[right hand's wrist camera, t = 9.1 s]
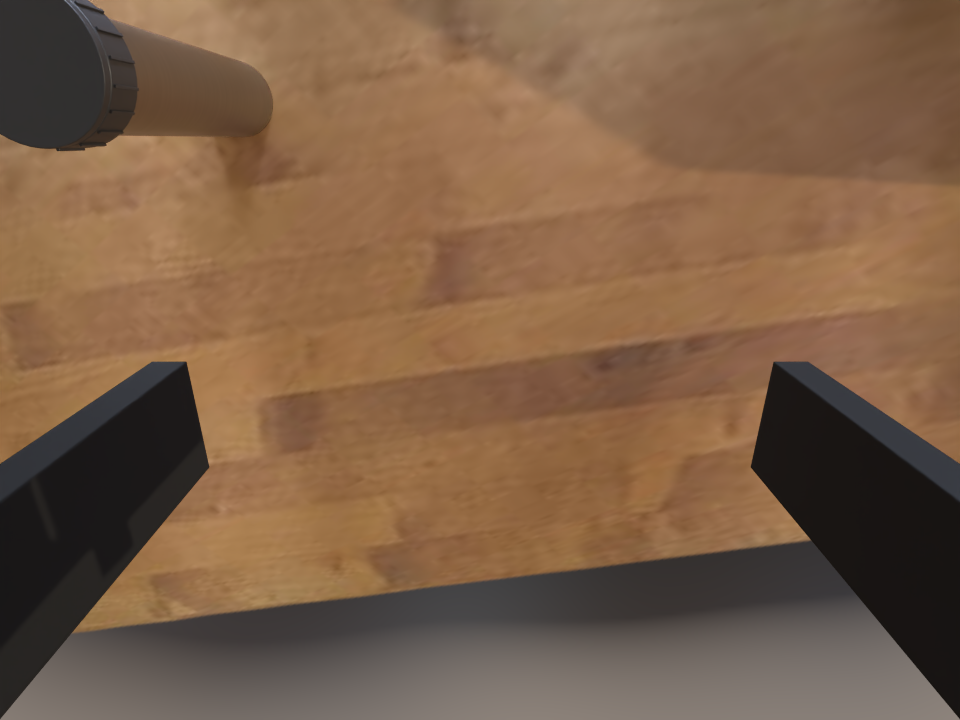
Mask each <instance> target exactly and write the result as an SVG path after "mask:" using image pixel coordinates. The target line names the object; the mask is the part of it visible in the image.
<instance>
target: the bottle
mask: <svg viewBox="0 0 960 720" xmlns="http://www.w3.org/2000/svg"><path fill="white" fill-rule="evenodd" d="M108 19H109V18H108ZM109 20H110V21H111V22H112V23H113V25H114V26H115V27H116V29H117V30H118V31H119V33H122V35H123V37H122V38H123V39H124V41H125V43H126V45H127V47H128V49H129V51H130V54H131V56H132V59H133V60H134V61H135V64H134V66H135V70H136V75H137V85H138V88H139V91H138V92H137V102H136V107H135V110H134V112H135V115H133V116H132V118H131V120H130V122H129V124H128V125H127V126H126V128H125V129H124V130H123V132H124V133H123V134H119V135H121V136H201V137H249V136H253V135H255V134H257V133H259V132H260V131H262V130H263V129H264V128H265V127H266V125H267V124H268V122H269V120H270V118H271V114H272V109H273V101H272V95H271V91H270V88H269V86H268V84H267V82H266V81H265V79H264V78H263V76H262V75H261V74H260V73H259V72H258V71H257V70H256V69H255V68H253V67H252V66H250V65H248V64H246V63H244V62H241V61H238V60H235V59H232V58H229V57H226V56H223V55H220V54H216V53H213V52H210V51H207V50H204V49H201V48H198V47H195V46H192V45H189V44H186V43H183V42H180V41H177V40H174V39H171V38H167V37H164V36H161V35H158V34H155V33H152V32H149V31H146V30H143V29H140V28H137V27H134V26H131V25H128V24H125V23H122V22H118V21H115V20H112V19H109Z"/></svg>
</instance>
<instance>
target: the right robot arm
mask: <svg viewBox="0 0 960 720" xmlns="http://www.w3.org/2000/svg"><path fill="white" fill-rule="evenodd" d="M208 468H209V464H208V459H207V455H206V450H205V445H204V441H203V436H202V432H201V427H200V422H199V418H198V413H197V409H196V404H195V399H194V395H193V390H192V386H191V381H190V376H189V372H188V367H187V363H186V362H151V363H150V364H148V365H147V366H145V367H144V368H142V369H141V370H139V371H138V372H136V373H135V374H133V375H132V376H130V377H129V378H127V379H126V380H124V381H123V382H121V383H120V384H118V385H117V386H115V387H114V388H112V389H111V390H109V391H108V392H106V393H105V394H103V395H102V396H100V397H99V398H98V399H96V400H95V401H93V402H92V403H90V404H89V405H87V406H86V407H84V408H83V409H81V410H80V411H78V412H77V413H75V414H74V415H72V416H71V417H69V418H68V419H66V420H65V421H63V422H62V423H60V424H59V425H57V426H56V427H54V428H53V429H51V430H50V431H48V432H47V433H46V434H44V435H43V436H41V437H40V438H38V439H37V440H35V441H34V442H32V443H31V444H29V445H28V446H26V447H25V448H23V449H22V450H20V451H19V452H17V453H16V454H14V455H13V456H11V457H10V458H8V459H7V460H5V461H4V462H2V463H1V464H0V719H1V717H2V716H3V715H4V714H5V713H6V711H7V710H8V709H9V708H10V707H11V705H12V704H13V703H14V702H15V700H16V699H17V698H18V697H19V696H20V694H21V693H22V692H23V691H24V690H25V688H26V687H27V686H28V685H29V684H30V682H31V681H32V680H33V679H34V678H35V676H36V675H37V674H38V673H39V672H40V670H41V669H42V668H43V667H44V665H45V664H46V663H47V662H48V661H49V660H50V658H51V657H52V656H53V655H54V654H55V652H56V651H57V650H58V649H59V648H60V646H61V645H62V644H63V643H64V641H65V640H66V639H67V638H68V637H69V635H70V634H71V633H72V632H73V631H74V629H75V628H76V627H77V626H78V625H79V623H80V622H81V621H82V620H83V619H84V617H85V616H86V615H87V614H88V613H89V611H90V610H91V609H92V608H93V607H94V605H95V604H96V603H97V602H98V601H99V599H100V598H101V597H102V596H103V595H104V593H105V592H106V591H107V590H108V589H109V587H110V586H111V585H112V584H113V582H114V581H115V580H116V579H117V578H118V576H119V575H120V574H121V573H122V572H123V570H124V569H125V568H126V567H127V566H128V564H129V563H130V562H131V561H132V560H133V558H134V557H135V556H136V555H137V554H138V552H139V551H140V550H141V549H142V548H143V546H144V545H145V544H146V543H147V542H148V540H149V539H150V538H151V537H152V536H153V534H154V533H155V532H156V531H157V530H158V528H159V527H160V526H161V525H162V523H163V522H164V521H165V520H166V519H167V517H168V516H169V515H170V514H171V513H172V511H173V510H174V509H175V508H176V507H177V505H178V504H179V503H180V502H181V501H182V499H183V498H184V497H185V496H186V495H187V493H188V492H189V491H190V490H191V489H192V487H193V486H194V485H195V484H196V483H197V481H198V480H199V479H200V478H201V477H202V475H203V474H204V473H205V472H206V470H207V469H208ZM751 468H752V469H753V471H754V472H755V473H756V474H757V475H758V477H759V478H760V479H761V480H762V481H763V483H764V484H765V485H766V486H767V487H768V489H769V490H770V491H771V492H772V493H773V495H774V496H775V497H776V498H777V499H778V501H779V502H780V503H781V504H782V505H783V507H784V508H785V509H786V510H787V511H788V513H789V514H790V515H791V516H792V517H793V519H794V520H795V521H796V522H797V523H798V525H799V526H800V527H801V528H802V530H803V531H804V532H805V533H806V534H807V536H808V537H809V538H810V539H811V540H812V542H813V543H814V544H815V545H816V546H817V547H818V549H819V550H820V551H821V552H822V554H823V555H824V556H825V557H826V558H827V560H828V561H829V562H830V563H831V564H832V566H833V567H834V568H835V569H836V570H837V572H838V573H839V574H840V575H841V576H842V578H843V579H844V580H845V581H846V582H847V584H848V585H849V586H850V587H851V589H852V590H853V591H854V592H855V593H856V595H857V596H858V597H859V598H860V599H861V601H862V602H863V603H864V604H865V605H866V607H867V608H868V609H869V610H870V611H871V613H872V614H873V615H874V616H875V617H876V619H877V620H878V621H879V622H880V623H881V625H882V626H883V627H884V628H885V629H886V631H887V632H888V633H889V634H890V635H891V637H892V638H893V639H894V640H895V641H896V643H897V644H898V645H899V646H900V647H901V649H902V650H903V651H904V652H905V654H906V655H907V656H908V657H909V658H910V660H911V661H912V662H913V663H914V664H915V665H916V667H917V668H918V669H919V670H920V672H921V673H922V674H923V675H924V676H925V678H926V679H927V680H928V681H929V682H930V684H931V685H932V686H933V687H934V688H935V690H936V691H937V692H938V693H939V694H940V696H941V697H942V698H943V699H944V700H945V702H946V703H947V704H948V705H949V707H950V708H951V709H952V710H953V711H954V713H955V714H956V715H957V716H958V717H959V719H960V464H959V463H958V462H956V461H955V460H953V459H952V458H950V457H949V456H947V455H946V454H944V453H943V452H941V451H940V450H938V449H937V448H935V447H934V446H932V445H931V444H929V443H928V442H926V441H925V440H923V439H922V438H920V437H919V436H917V435H916V434H914V433H913V432H912V431H910V430H909V429H907V428H906V427H904V426H903V425H901V424H900V423H898V422H897V421H895V420H894V419H892V418H891V417H889V416H888V415H886V414H885V413H883V412H882V411H880V410H879V409H877V408H876V407H874V406H873V405H871V404H870V403H868V402H867V401H865V400H864V399H862V398H861V397H859V396H858V395H857V394H855V393H854V392H852V391H851V390H849V389H848V388H846V387H845V386H843V385H842V384H840V383H839V382H837V381H836V380H834V379H833V378H831V377H830V376H828V375H827V374H825V373H824V372H822V371H821V370H819V369H818V368H816V367H815V366H813V365H812V364H810V363H809V362H774V363H773V367H772V372H771V376H770V381H769V386H768V390H767V395H766V399H765V404H764V409H763V413H762V418H761V422H760V427H759V432H758V436H757V441H756V445H755V450H754V455H753V459H752V464H751Z"/></svg>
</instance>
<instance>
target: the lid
mask: <svg viewBox="0 0 960 720" xmlns="http://www.w3.org/2000/svg"><path fill="white" fill-rule="evenodd" d="M122 37H123V35H122V33H119V31H118V30H117V29H116V27H115V26H114V25H113V23H112V22H111V21H110V20H109V19H108V17H107V16H106V15H105V14H104V11H103V10H102V9H99V8H97V7H96V6H94V5H93V4H92V3H91V2H89V1H88V0H0V134H1V135H3V136H5V137H7V138H8V139H10V140H13V141H15V142H17V143H20V144H23V145H26V146H30V147H35V148H44V149H56V150H57V151H77V150H85V148H90V147H96V146H106V143H108V142H110V141H111V140H113V139H114V138H116V137H117V136H118V135H119V134H123V133H124V132H123V130H124V129H125V128H126V126H127V125H128V124H129V122H130V120H131V118H132V116H133V115H135V112H134V110H135V107H136V102H137V92H138V91H139V88H138V85H137V75H136V70H135V66H134V64H135V61H134V60H133V59H132V56H131V54H130V51H129V49H128V47H127V45H126V43H125V41H124V39H123V38H122Z"/></svg>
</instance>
